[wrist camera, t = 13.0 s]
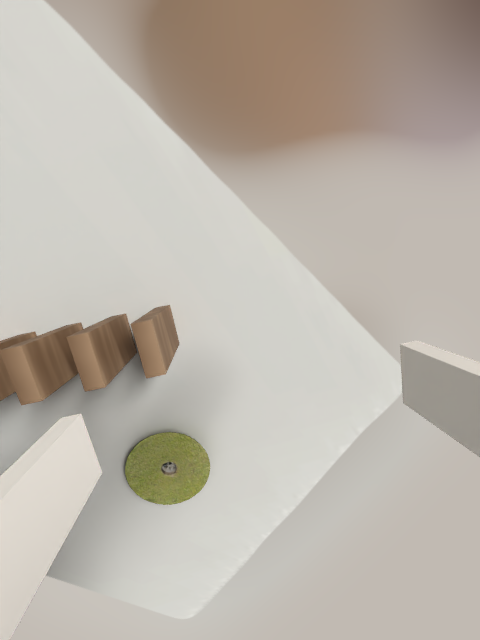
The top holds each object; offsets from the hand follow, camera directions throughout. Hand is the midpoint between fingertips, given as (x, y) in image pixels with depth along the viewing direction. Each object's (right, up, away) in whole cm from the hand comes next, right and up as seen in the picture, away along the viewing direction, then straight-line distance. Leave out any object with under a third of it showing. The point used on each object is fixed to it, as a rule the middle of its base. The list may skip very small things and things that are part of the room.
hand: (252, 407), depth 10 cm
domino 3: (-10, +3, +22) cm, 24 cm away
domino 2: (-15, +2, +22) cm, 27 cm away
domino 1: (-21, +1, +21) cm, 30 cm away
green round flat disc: (-10, -16, +26) cm, 32 cm away
